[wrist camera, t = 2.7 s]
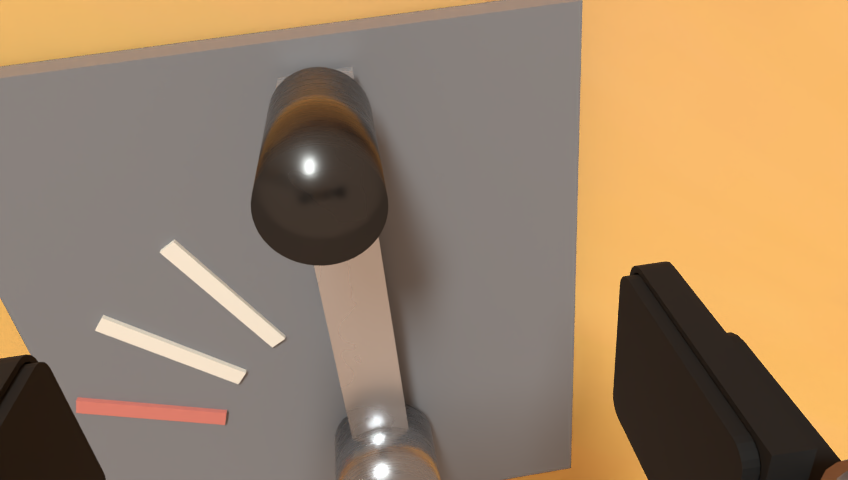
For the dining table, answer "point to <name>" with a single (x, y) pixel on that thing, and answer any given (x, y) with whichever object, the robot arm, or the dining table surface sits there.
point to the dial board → (288, 280)
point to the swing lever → (342, 260)
